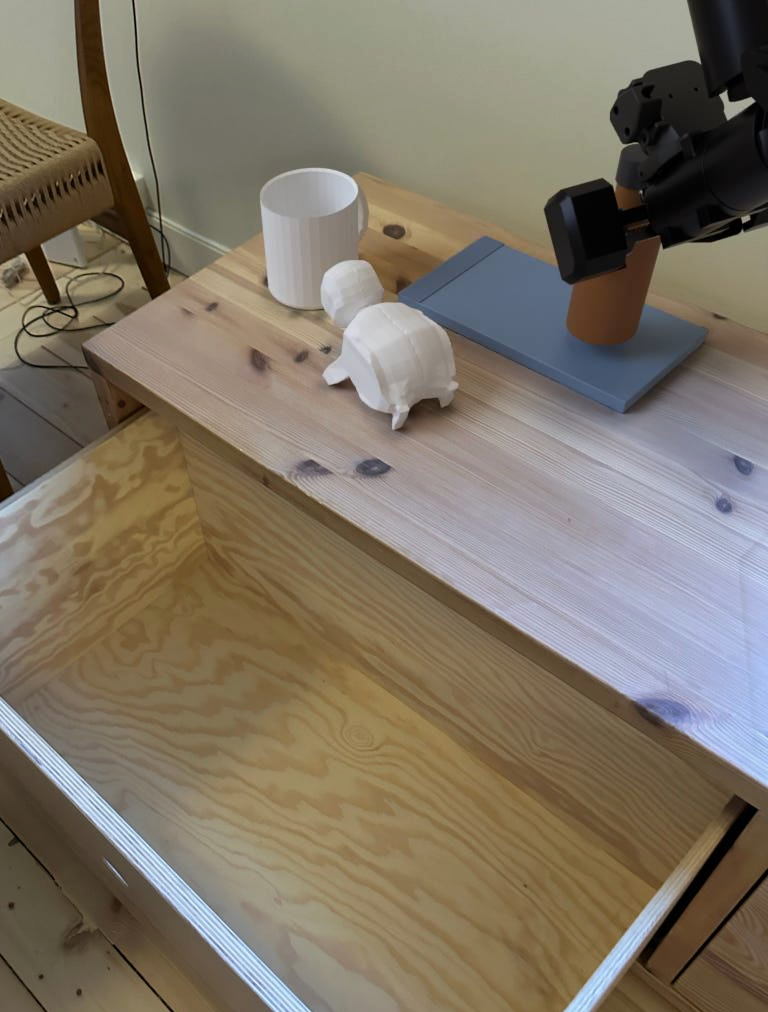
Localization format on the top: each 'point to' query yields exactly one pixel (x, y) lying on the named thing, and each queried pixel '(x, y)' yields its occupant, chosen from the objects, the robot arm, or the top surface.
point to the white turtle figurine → (385, 344)
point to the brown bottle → (617, 274)
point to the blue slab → (546, 323)
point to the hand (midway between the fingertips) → (609, 245)
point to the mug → (309, 231)
